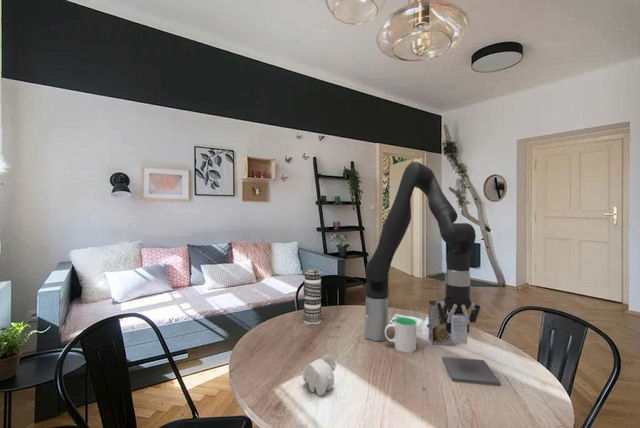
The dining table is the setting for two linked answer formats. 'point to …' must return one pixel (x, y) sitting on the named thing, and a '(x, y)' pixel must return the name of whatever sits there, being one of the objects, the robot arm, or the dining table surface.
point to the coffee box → (438, 326)
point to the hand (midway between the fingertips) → (457, 333)
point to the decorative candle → (312, 296)
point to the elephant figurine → (320, 374)
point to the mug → (404, 334)
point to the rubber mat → (470, 371)
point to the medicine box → (459, 328)
